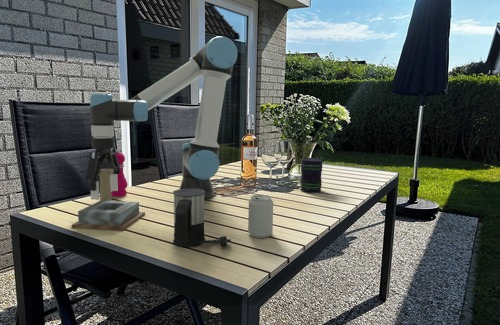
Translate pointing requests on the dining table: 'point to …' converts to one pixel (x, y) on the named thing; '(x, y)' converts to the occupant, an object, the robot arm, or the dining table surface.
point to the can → (260, 216)
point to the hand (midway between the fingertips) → (105, 194)
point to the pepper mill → (120, 177)
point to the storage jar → (311, 175)
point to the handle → (105, 184)
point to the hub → (109, 215)
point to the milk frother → (191, 219)
